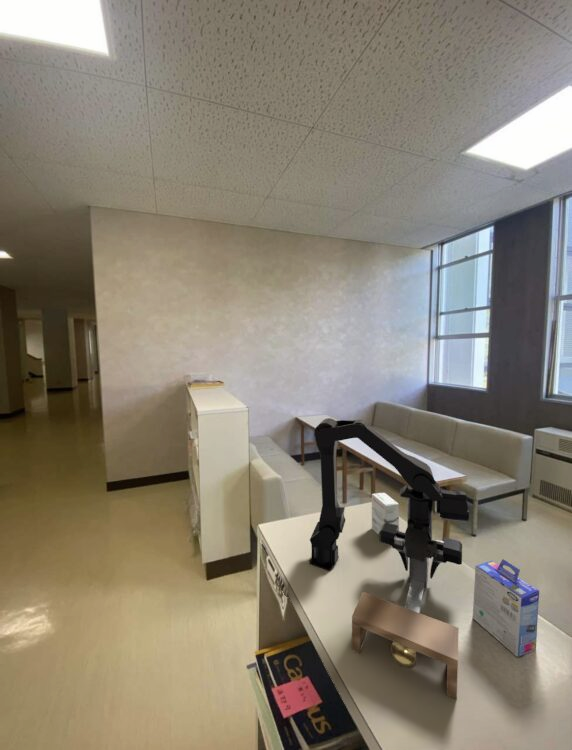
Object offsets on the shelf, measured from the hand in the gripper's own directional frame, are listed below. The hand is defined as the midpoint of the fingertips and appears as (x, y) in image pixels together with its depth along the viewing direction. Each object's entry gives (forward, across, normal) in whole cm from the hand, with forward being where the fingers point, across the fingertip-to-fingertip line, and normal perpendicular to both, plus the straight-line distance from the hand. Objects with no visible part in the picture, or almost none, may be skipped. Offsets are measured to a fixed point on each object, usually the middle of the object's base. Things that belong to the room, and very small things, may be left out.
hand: (418, 573), depth 79 cm
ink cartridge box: (+2, +17, -8) cm, 19 cm away
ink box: (+2, -12, +16) cm, 21 cm away
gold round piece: (+2, 0, -22) cm, 23 cm away
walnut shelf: (+2, 0, -22) cm, 23 cm away
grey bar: (+2, 0, -7) cm, 7 cm away
